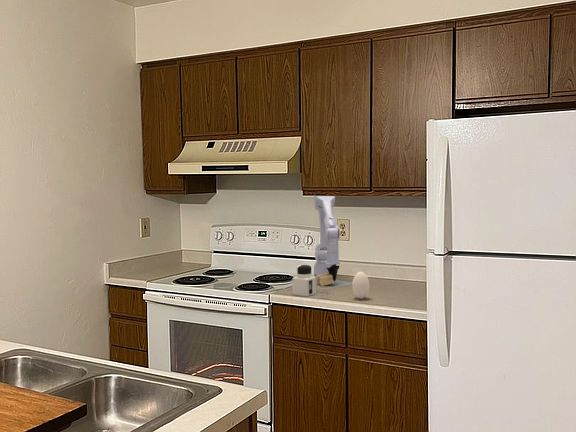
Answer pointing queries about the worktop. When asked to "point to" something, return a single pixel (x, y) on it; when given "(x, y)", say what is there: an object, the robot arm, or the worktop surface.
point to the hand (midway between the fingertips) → (333, 280)
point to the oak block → (324, 279)
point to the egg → (360, 285)
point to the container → (304, 281)
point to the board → (339, 283)
